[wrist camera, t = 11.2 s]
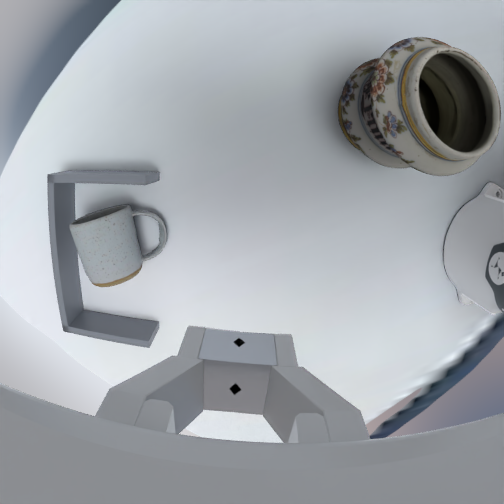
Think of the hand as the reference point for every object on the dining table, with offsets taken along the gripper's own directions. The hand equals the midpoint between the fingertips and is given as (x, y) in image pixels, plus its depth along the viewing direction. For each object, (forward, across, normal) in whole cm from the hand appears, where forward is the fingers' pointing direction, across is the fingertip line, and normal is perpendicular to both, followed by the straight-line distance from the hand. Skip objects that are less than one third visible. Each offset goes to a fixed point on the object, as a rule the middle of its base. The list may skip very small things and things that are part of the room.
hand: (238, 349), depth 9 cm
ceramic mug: (+29, +15, +5) cm, 33 cm away
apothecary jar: (+29, -14, -12) cm, 35 cm away
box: (+29, +17, +8) cm, 35 cm away
